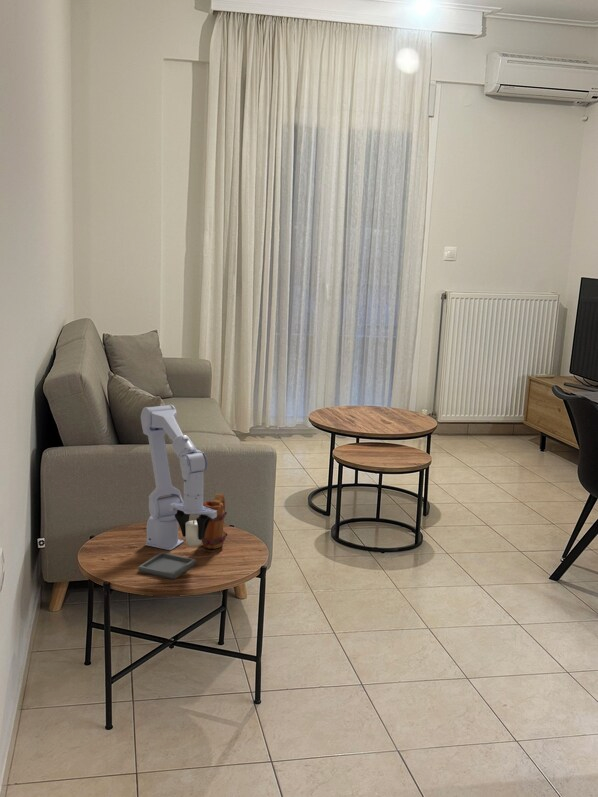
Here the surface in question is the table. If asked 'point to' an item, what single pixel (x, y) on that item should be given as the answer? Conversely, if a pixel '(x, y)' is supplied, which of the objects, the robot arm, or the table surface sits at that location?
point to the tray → (167, 565)
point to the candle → (192, 533)
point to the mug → (215, 524)
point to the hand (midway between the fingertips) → (193, 537)
